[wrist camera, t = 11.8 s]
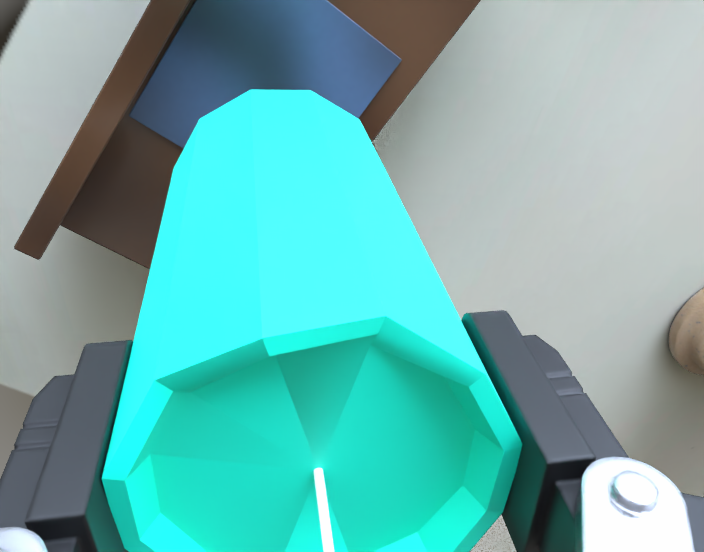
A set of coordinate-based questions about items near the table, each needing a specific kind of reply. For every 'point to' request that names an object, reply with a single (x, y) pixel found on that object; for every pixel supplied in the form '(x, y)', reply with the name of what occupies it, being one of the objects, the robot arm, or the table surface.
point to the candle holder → (689, 335)
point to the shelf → (225, 96)
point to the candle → (300, 357)
